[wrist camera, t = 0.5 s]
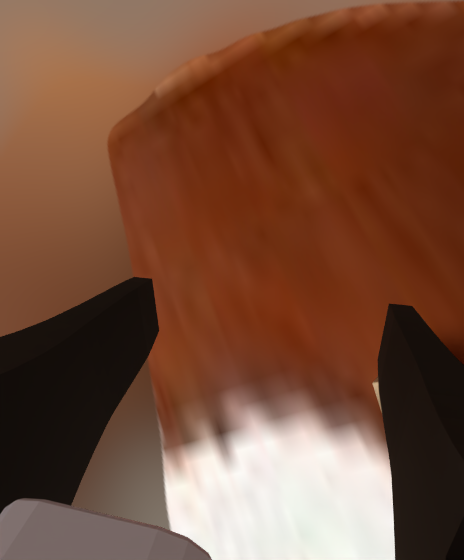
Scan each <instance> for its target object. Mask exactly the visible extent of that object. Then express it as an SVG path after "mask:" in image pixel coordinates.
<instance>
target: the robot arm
mask: <svg viewBox="0 0 464 560" xmlns="http://www.w3.org/2000/svg"><path fill="white" fill-rule="evenodd" d="M158 332H159V326H158V319H157V312H156V304H155V297H154V290H153V283H152V279H148V278H139V277H133V278H131V279H129V280H126V281H124V282H122V283H120V284H118V285H116V286H114V287H112V288H110V289H108V290H107V291H105V292H103V293H101V294H99V295H97V296H95V297H93V298H91V299H89V300H88V301H86V302H84V303H82V304H80V305H78V306H76V307H73V308H71V309H69V310H67V311H65V312H63V313H61V314H59V315H57V316H55V317H52V318H50V319H48V320H46V321H43V322H41V323H38V324H36V325H33V326H31V327H28V328H25V329H23V330H20V331H17V332H15V333H11V334H8V335H5V336H2V337H0V560H212V559H211V557H210V555H209V554H208V552H206V551H205V550H204V549H202V548H201V547H200V546H198V545H197V544H196V543H194V542H193V541H192V540H190V539H189V538H188V537H185V536H183V535H180V534H178V533H175V532H172V531H170V530H167V529H165V528H162V527H158V526H154V525H150V524H146V523H142V522H137V521H133V520H129V519H125V518H121V517H116V516H112V515H108V514H103V513H100V512H95V511H91V510H87V509H83V508H79V507H74V506H71V504H72V502H73V499H74V497H75V494H76V492H77V490H78V487H79V485H80V482H81V480H82V477H83V475H84V473H85V470H86V468H87V466H88V464H89V462H90V459H91V457H92V455H93V453H94V450H95V448H96V446H97V444H98V442H99V440H100V438H101V436H102V434H103V432H104V429H105V427H106V425H107V423H108V421H109V420H110V418H111V416H112V414H113V413H114V411H115V409H116V407H117V406H118V404H119V403H120V401H121V400H122V398H123V396H124V395H125V393H126V392H127V390H128V388H129V387H130V385H131V383H132V382H133V380H134V379H135V377H136V375H137V374H138V372H139V371H140V369H141V367H142V365H143V364H144V362H145V361H146V359H147V357H148V355H149V353H150V351H151V349H152V346H153V344H154V342H155V339H156V337H157V334H158ZM378 388H379V396H380V403H381V409H382V416H383V422H384V428H385V434H386V440H387V446H388V452H389V459H390V467H391V475H392V493H393V512H394V536H395V560H464V365H463V364H462V363H461V362H460V361H459V360H458V359H457V358H456V357H455V356H454V355H453V354H452V353H451V352H450V351H449V350H448V348H447V347H446V346H445V345H444V344H443V343H442V342H441V341H440V339H439V338H438V337H437V336H436V335H435V333H434V332H433V331H432V330H431V329H430V327H429V326H428V325H427V324H426V323H425V321H424V320H423V319H422V318H421V316H420V315H419V314H418V313H417V311H416V310H415V309H414V308H413V307H412V306H407V305H397V304H389V306H388V311H387V316H386V321H385V326H384V331H383V336H382V341H381V346H380V351H379V356H378Z"/></svg>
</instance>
